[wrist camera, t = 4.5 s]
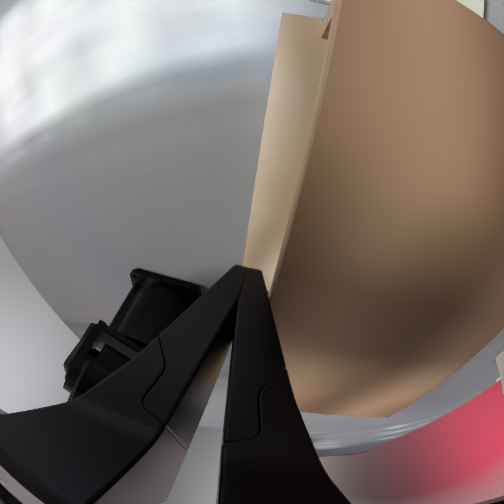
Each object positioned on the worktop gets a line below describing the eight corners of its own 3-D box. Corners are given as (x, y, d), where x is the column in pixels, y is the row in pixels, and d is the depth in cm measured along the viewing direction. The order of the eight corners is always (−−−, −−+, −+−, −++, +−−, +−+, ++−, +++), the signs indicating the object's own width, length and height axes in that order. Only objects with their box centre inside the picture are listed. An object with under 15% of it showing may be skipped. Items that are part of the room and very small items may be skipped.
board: (243, 275, 20) (239, 289, 19) (285, 17, 9) (282, 12, 8) (423, 312, 19) (427, 326, 18) (524, 127, 8) (538, 134, 7)
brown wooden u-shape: (262, 300, 19) (240, 400, 13) (324, 18, 8) (348, -45, 2) (380, 322, 18) (388, 417, 12) (495, 96, 7) (602, 155, 1)
